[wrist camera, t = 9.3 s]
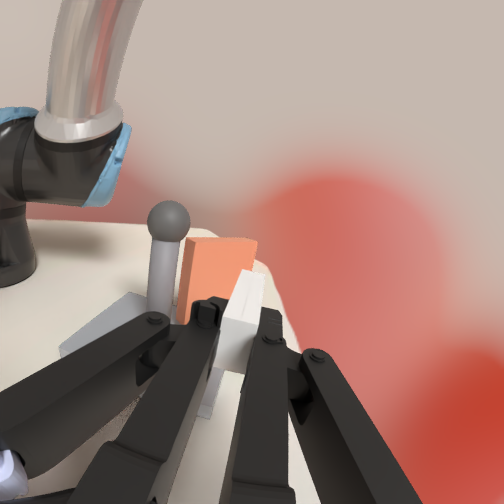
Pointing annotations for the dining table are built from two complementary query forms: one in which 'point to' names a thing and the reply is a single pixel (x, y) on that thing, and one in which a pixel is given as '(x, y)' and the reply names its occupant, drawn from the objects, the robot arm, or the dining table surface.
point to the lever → (191, 262)
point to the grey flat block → (116, 317)
